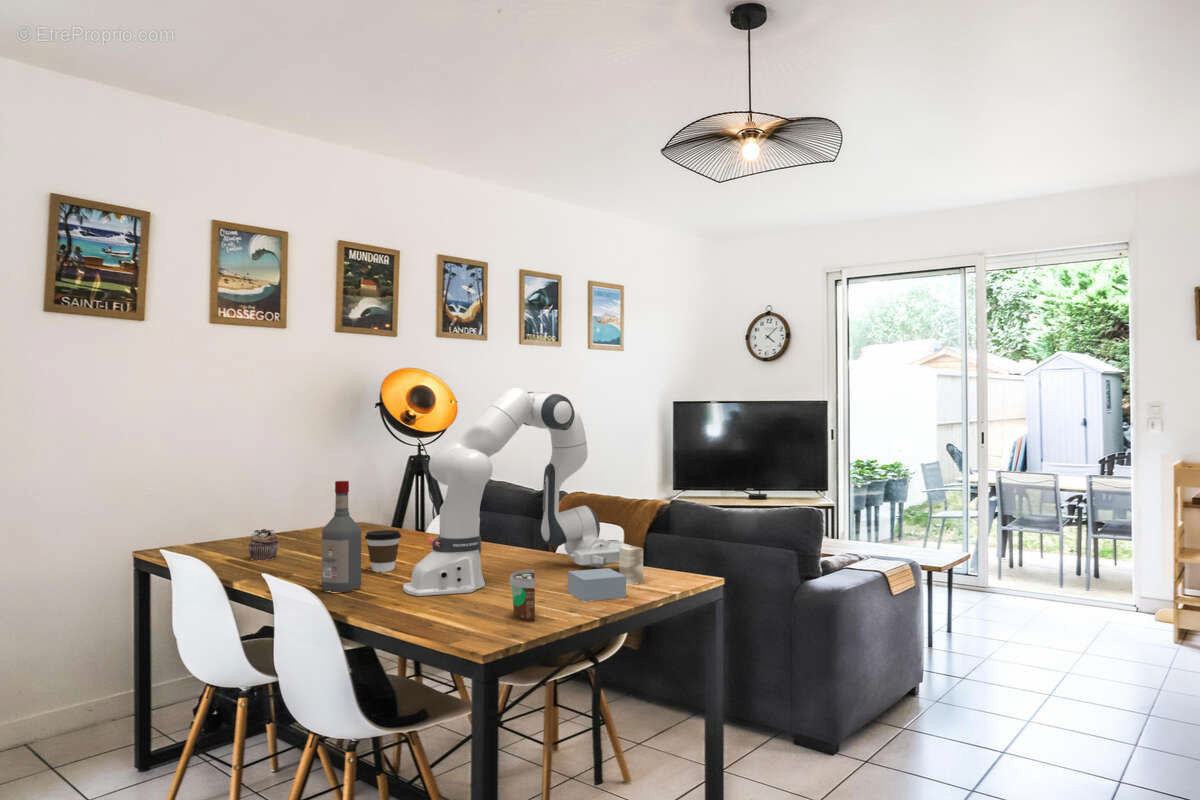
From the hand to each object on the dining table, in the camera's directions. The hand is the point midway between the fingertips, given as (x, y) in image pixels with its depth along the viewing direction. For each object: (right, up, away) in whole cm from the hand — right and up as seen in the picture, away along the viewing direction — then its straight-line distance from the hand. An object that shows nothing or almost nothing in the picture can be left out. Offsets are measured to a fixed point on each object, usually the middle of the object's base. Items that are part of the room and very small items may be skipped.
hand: (618, 559), depth 231 cm
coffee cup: (-73, -6, +11) cm, 74 cm away
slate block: (-6, -5, -22) cm, 24 cm away
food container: (-24, -5, -44) cm, 51 cm away
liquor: (-77, -6, -15) cm, 79 cm away
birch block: (+4, -5, -7) cm, 9 cm away
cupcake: (-119, -7, +33) cm, 124 cm away
